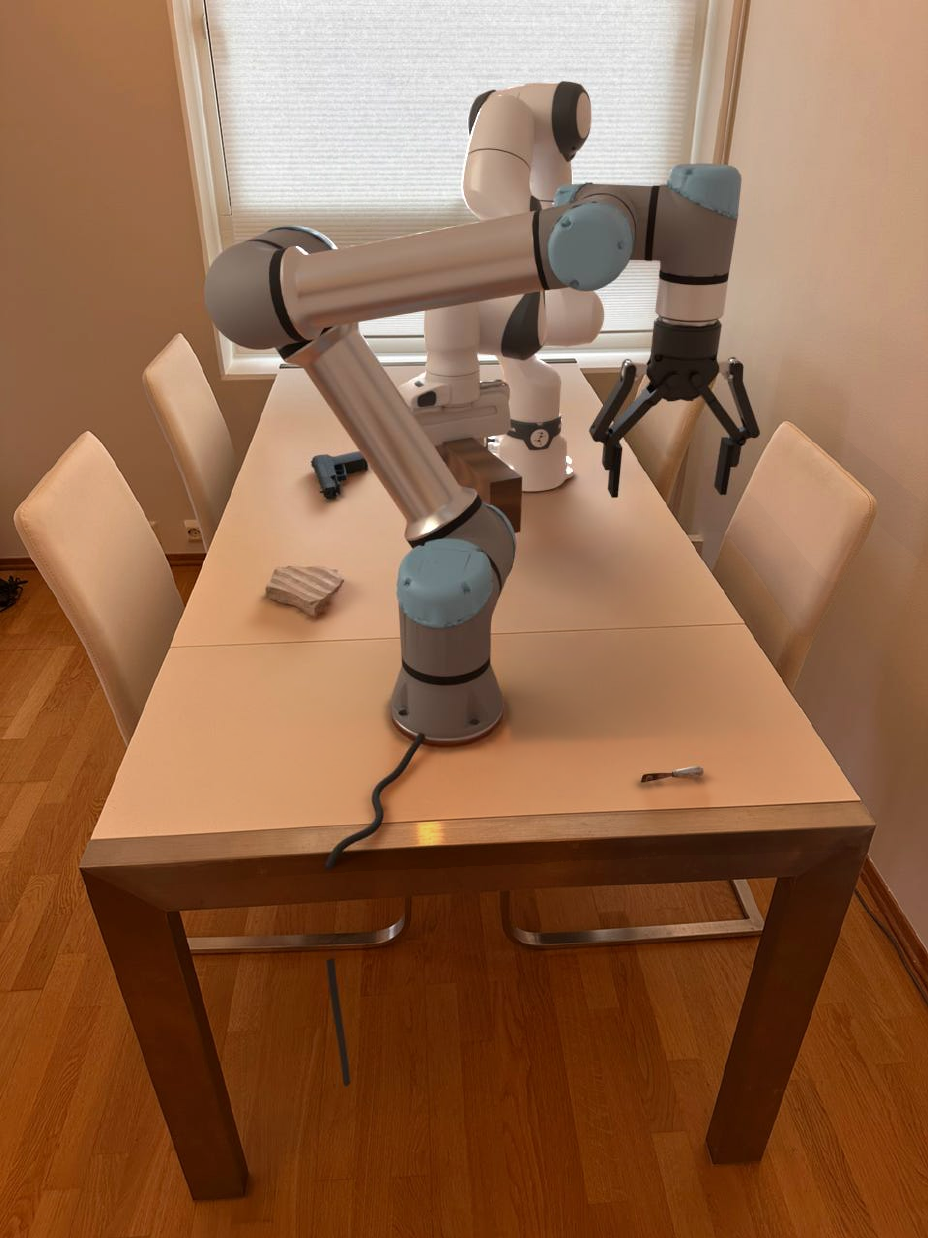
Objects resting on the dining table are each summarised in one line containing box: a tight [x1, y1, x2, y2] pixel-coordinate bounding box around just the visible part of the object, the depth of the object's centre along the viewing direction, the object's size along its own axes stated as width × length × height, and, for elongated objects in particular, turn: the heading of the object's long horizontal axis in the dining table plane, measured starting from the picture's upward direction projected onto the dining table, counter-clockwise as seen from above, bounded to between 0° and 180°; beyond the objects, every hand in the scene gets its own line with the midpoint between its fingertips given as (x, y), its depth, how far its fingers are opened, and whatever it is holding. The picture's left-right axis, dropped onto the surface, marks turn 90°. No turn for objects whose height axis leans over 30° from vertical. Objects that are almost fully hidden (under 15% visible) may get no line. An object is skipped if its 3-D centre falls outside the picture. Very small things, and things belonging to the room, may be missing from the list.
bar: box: [435, 437, 523, 534], centre depth 146 cm, size 24×5×9 cm, turn 24°
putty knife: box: [640, 765, 705, 784], centre depth 109 cm, size 1×8×2 cm, turn 103°
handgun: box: [310, 450, 369, 500], centre depth 187 cm, size 3×17×12 cm
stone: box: [264, 565, 345, 618], centre depth 147 cm, size 13×12×3 cm
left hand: (666, 492), depth 112 cm, fingers open, 13 cm apart
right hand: (453, 465), depth 153 cm, fingers closed on bar, 5 cm apart
